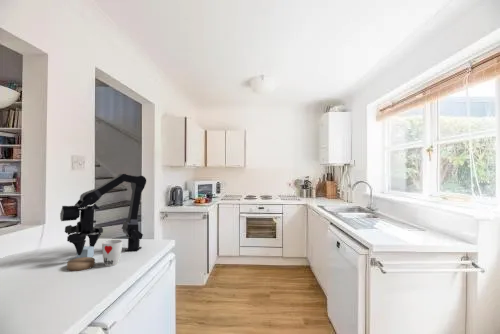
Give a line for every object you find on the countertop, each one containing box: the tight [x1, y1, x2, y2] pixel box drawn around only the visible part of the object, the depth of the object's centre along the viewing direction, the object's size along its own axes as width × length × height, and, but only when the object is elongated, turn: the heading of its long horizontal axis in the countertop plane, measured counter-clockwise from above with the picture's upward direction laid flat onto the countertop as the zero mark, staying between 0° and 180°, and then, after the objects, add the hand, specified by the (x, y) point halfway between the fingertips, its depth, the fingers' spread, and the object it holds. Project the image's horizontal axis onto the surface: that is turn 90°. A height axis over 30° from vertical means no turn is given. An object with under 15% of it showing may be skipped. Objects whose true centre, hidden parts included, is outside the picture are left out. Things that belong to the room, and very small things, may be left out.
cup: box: [101, 239, 123, 267], centre depth 118 cm, size 8×8×10 cm
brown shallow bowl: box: [66, 257, 96, 272], centre depth 113 cm, size 10×10×2 cm
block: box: [75, 245, 95, 259], centre depth 124 cm, size 5×5×5 cm
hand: (85, 252), depth 124 cm, fingers open, 9 cm apart
